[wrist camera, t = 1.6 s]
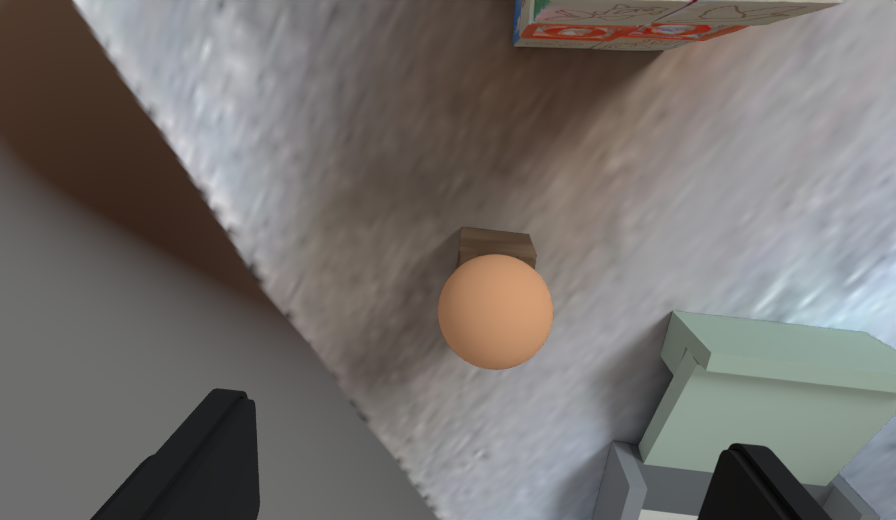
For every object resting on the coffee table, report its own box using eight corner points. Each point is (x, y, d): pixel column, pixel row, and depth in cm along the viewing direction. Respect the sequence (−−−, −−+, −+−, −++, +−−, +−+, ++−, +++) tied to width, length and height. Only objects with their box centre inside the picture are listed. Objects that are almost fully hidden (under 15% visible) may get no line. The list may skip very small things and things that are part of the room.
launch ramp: (866, 332, 21) (945, 379, 18) (808, 466, 24) (866, 531, 20) (672, 310, 22) (711, 352, 18) (634, 445, 24) (662, 506, 20)
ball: (552, 246, 18) (572, 286, 14) (536, 340, 19) (550, 400, 15) (447, 235, 18) (438, 271, 14) (438, 329, 19) (428, 386, 15)
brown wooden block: (528, 234, 21) (538, 260, 17) (519, 295, 22) (526, 332, 18) (462, 226, 21) (458, 251, 17) (455, 288, 22) (451, 323, 18)
